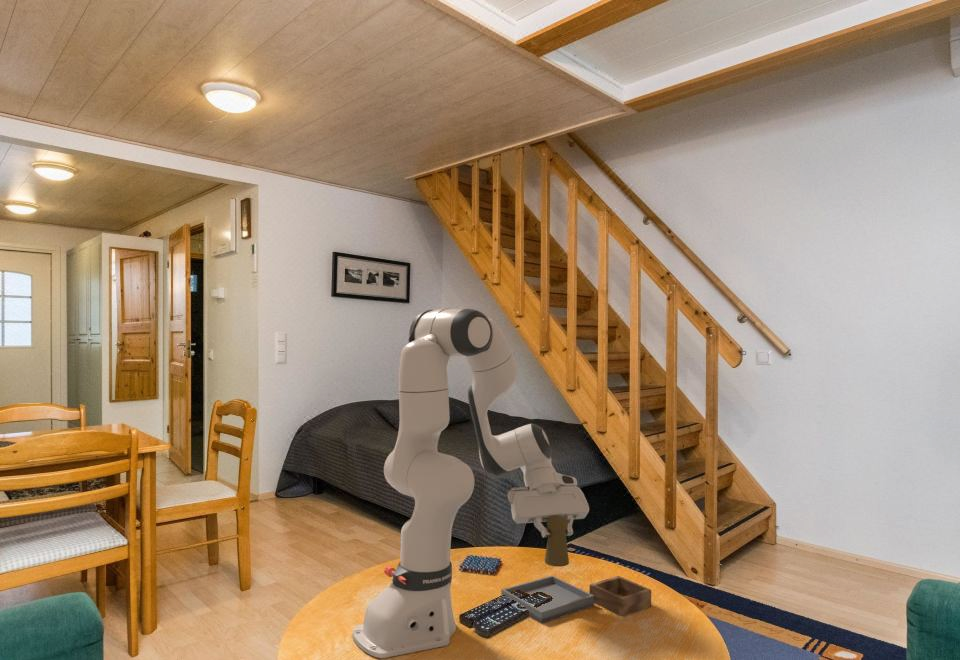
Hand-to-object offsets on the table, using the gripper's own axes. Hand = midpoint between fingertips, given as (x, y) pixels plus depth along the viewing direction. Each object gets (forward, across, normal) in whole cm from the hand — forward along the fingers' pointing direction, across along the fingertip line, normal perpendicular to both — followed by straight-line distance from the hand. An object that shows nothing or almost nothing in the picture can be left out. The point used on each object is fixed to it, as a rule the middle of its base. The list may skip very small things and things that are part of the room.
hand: (558, 535), depth 144 cm
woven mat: (-7, -11, +32) cm, 34 cm away
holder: (+15, +15, +9) cm, 23 cm away
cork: (+4, 0, +5) cm, 7 cm away
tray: (+11, -2, +12) cm, 17 cm away
